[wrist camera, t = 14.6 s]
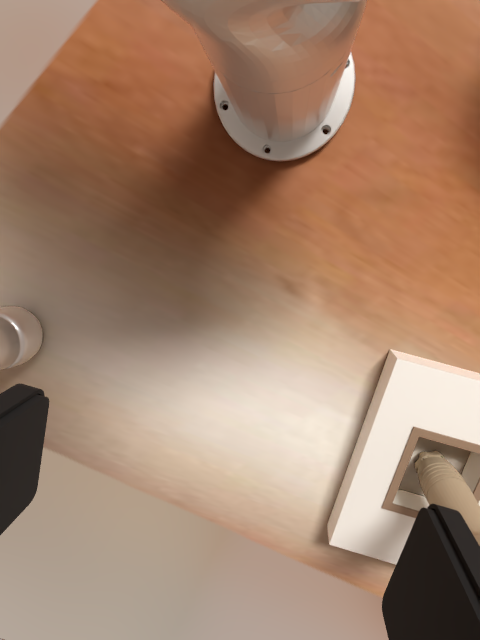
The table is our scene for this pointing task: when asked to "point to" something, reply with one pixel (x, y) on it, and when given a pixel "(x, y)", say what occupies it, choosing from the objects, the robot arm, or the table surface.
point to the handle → (448, 488)
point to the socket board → (403, 451)
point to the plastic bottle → (18, 336)
